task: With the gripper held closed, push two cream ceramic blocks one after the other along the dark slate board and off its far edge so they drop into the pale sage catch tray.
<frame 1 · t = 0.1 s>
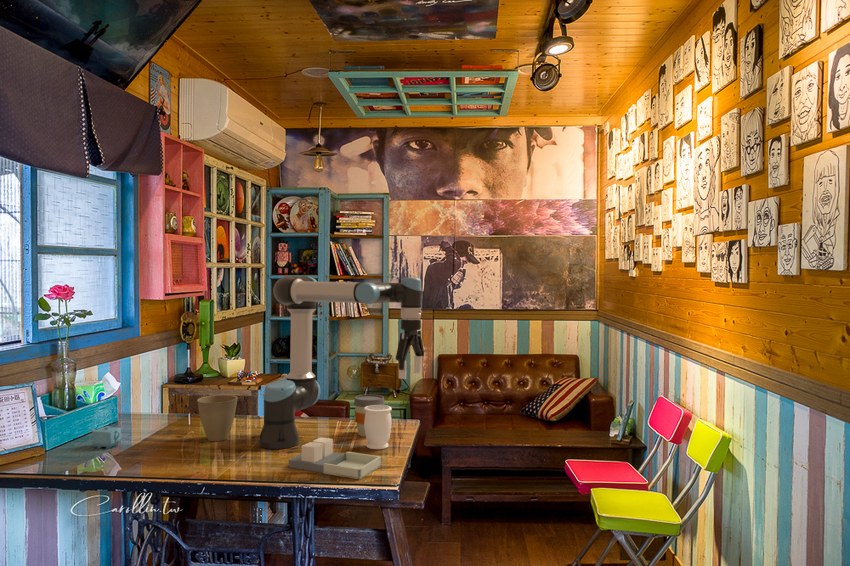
hand: (410, 375, 211), 28 cm above the table, fingers open, 13 cm apart
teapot: (104, 447, 212), on the table
block a: (312, 459, 192), point 2 cm above the table, touching board
board: (317, 463, 195), on the table
block b: (322, 454, 198), point 2 cm above the table, touching board
tray: (353, 469, 189), on the table
plant pot: (217, 439, 224), on the table
jar: (377, 447, 216), on the table
reusable coffee cup: (368, 433, 235), on the table
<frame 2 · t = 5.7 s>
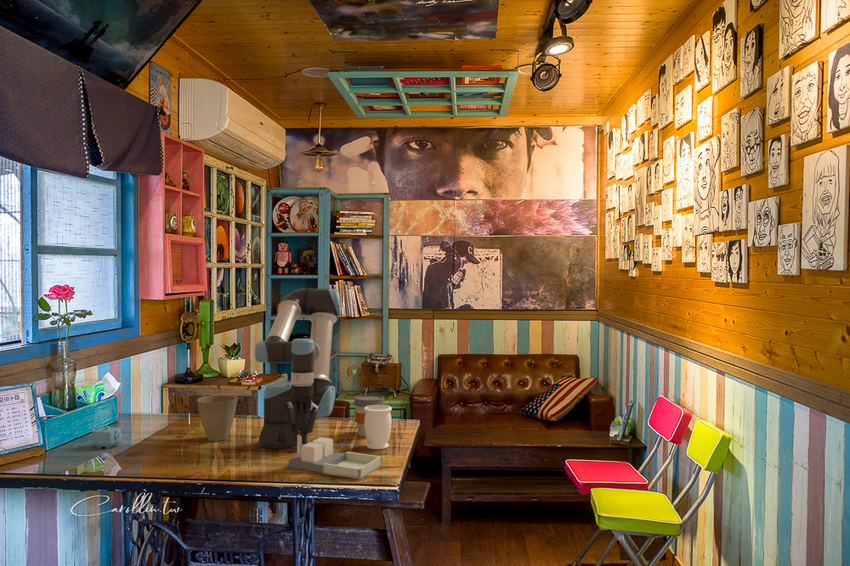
hand: (301, 453, 193), 4 cm above the table, fingers closed
block a: (312, 459, 192), point 3 cm above the table, touching board, gripper
everything else where it was.
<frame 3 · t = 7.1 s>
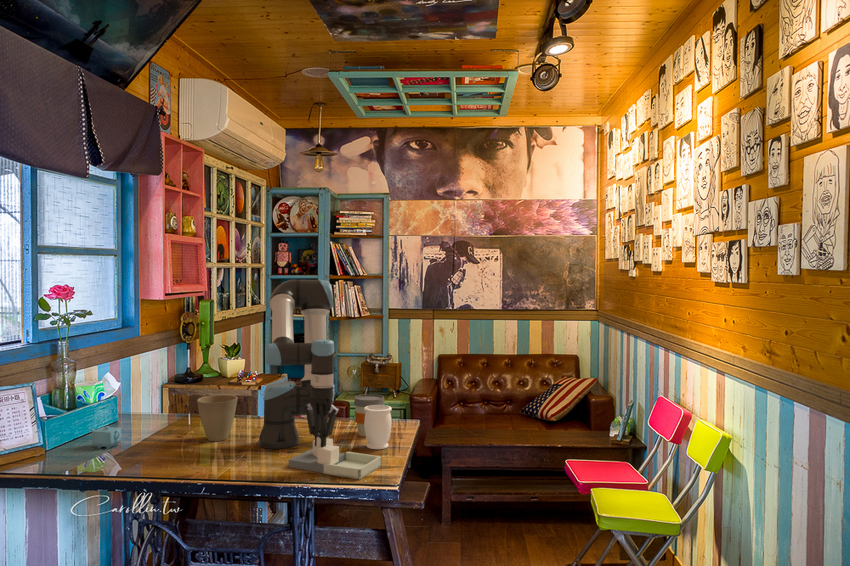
hand: (320, 456, 190), 4 cm above the table, fingers closed
block a: (328, 462, 189), point 3 cm above the table, touching board, gripper
everything else where it was.
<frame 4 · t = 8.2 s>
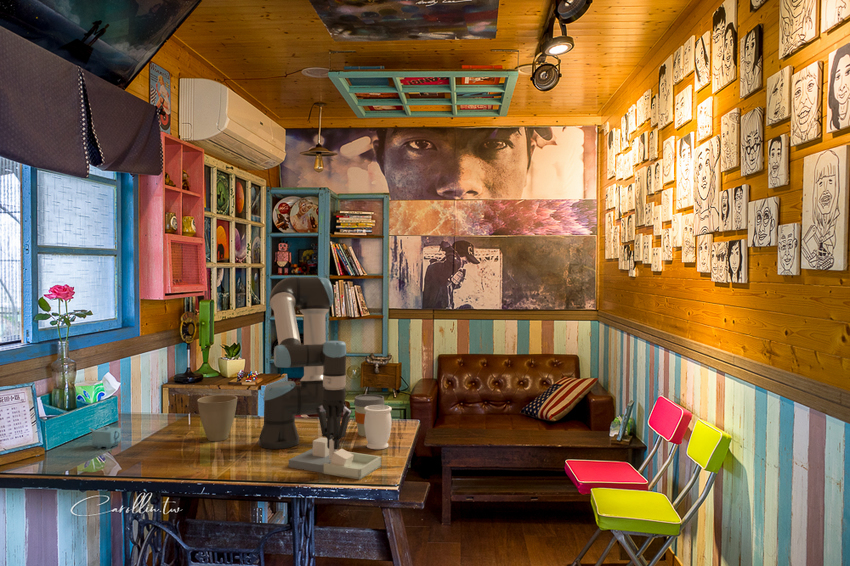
hand: (333, 458, 188), 4 cm above the table, fingers closed
block a: (339, 467, 187), point 1 cm above the table, tilted 18°, touching gripper
everything else where it was.
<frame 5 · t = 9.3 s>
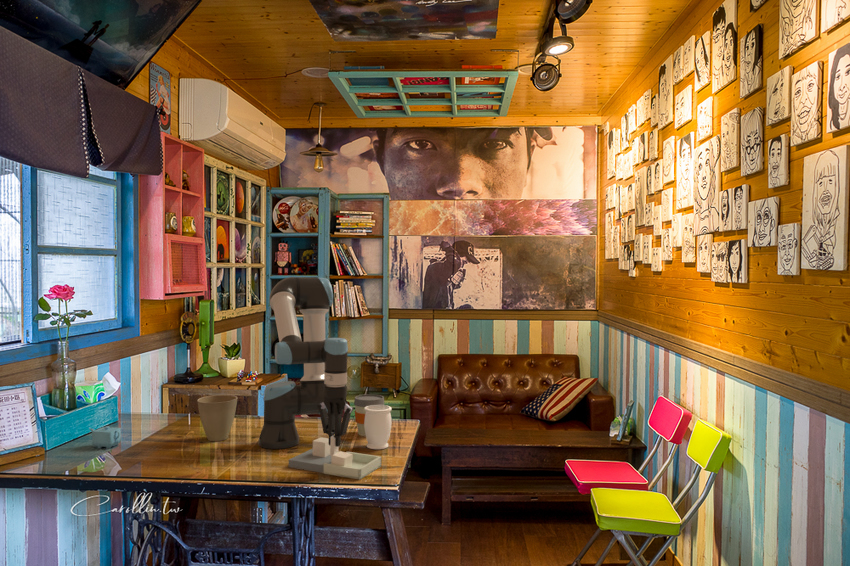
hand: (334, 455, 189), 5 cm above the table, fingers closed
block a: (341, 469, 187), point 1 cm above the table, touching gripper, tray
everything else where it was.
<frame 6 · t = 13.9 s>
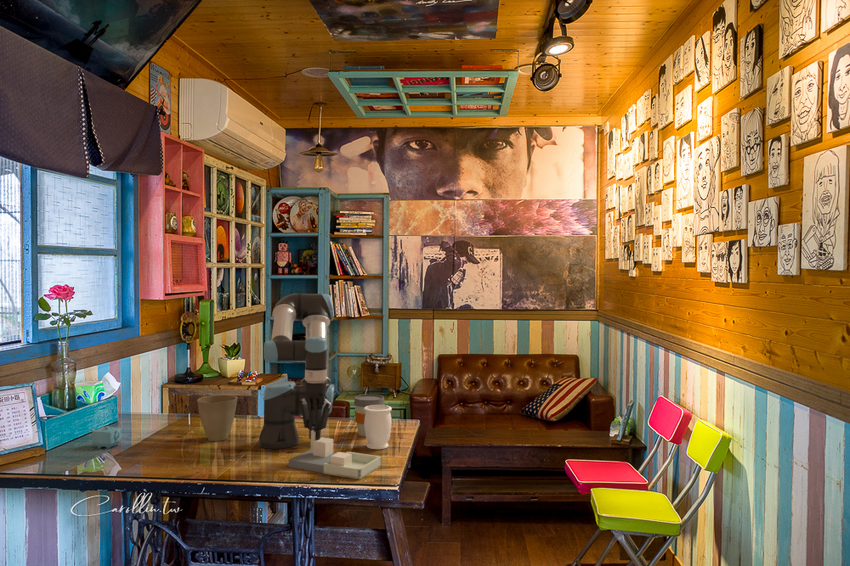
hand: (314, 448, 198), 4 cm above the table, fingers closed
block a: (341, 470, 187), point 1 cm above the table, touching tray
block b: (323, 454, 198), point 3 cm above the table, touching gripper
everything else where it was.
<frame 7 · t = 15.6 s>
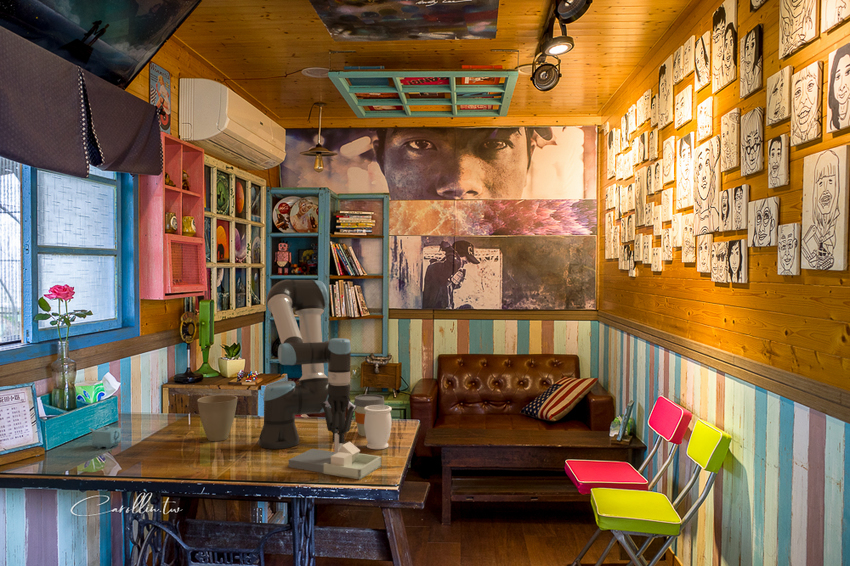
hand: (338, 452, 195), 4 cm above the table, fingers closed
block b: (344, 459, 194), point 2 cm above the table, tilted 31°, touching gripper
everything else where it was.
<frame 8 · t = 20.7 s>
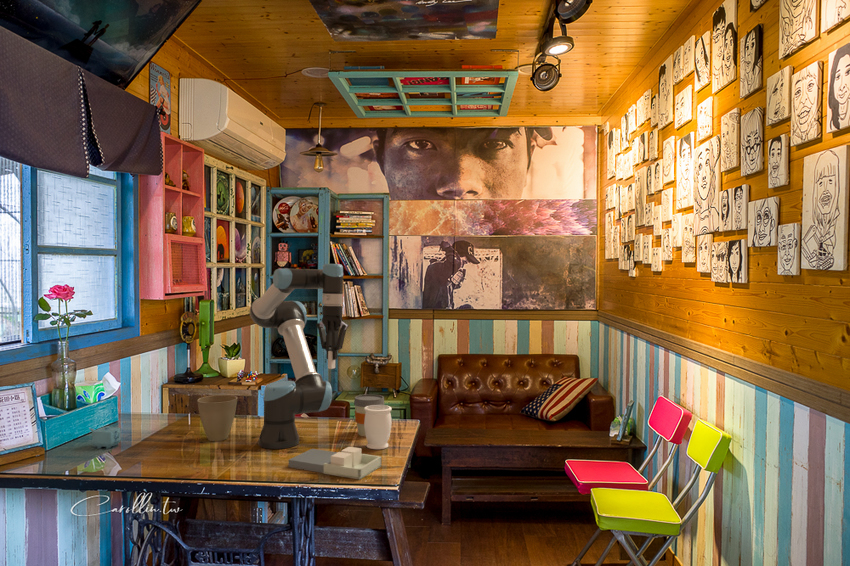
hand: (331, 368, 212), 30 cm above the table, fingers closed
block b: (351, 464, 193), point 1 cm above the table, touching tray
everything else where it was.
at the end: block a inside the target area on the tray (4.3 cm from its centre), point 0.6 cm above the tray's base; block b inside the target area on the tray (4.0 cm from its centre), point 0.6 cm above the tray's base; block b touching tray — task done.
